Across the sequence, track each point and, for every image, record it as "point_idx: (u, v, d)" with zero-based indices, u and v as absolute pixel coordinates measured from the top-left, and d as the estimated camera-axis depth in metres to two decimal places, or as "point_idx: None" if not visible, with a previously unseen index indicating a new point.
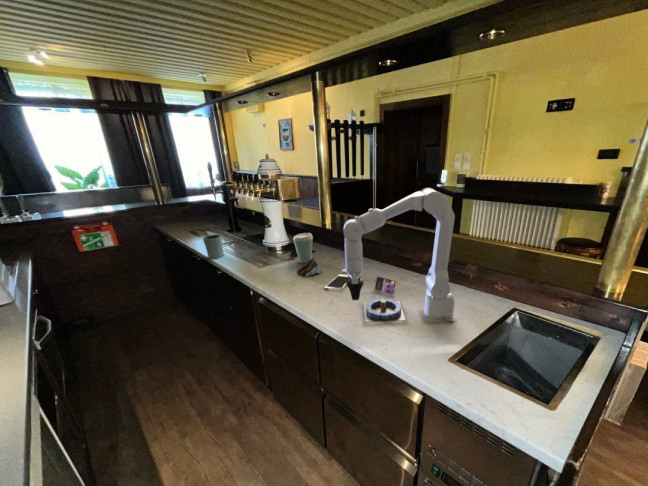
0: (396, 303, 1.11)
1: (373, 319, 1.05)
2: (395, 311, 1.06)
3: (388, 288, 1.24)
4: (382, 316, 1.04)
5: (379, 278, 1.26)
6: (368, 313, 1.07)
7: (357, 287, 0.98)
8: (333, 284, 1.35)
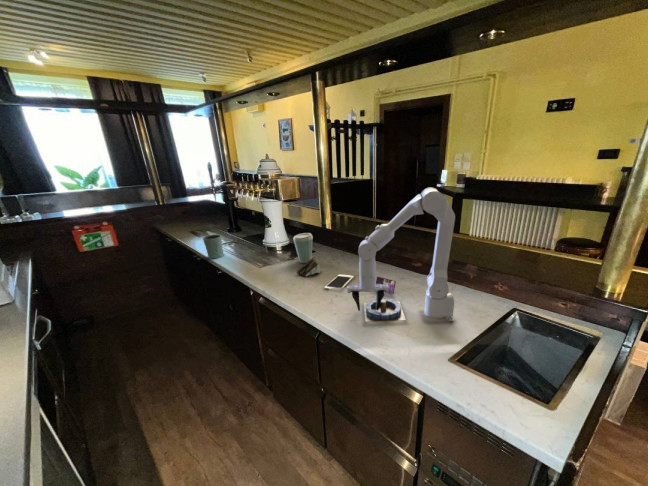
0: (396, 303, 1.11)
1: (373, 319, 1.05)
2: (395, 311, 1.06)
3: None
4: (382, 316, 1.04)
5: (379, 278, 1.26)
6: (368, 313, 1.07)
7: None
8: (333, 284, 1.35)
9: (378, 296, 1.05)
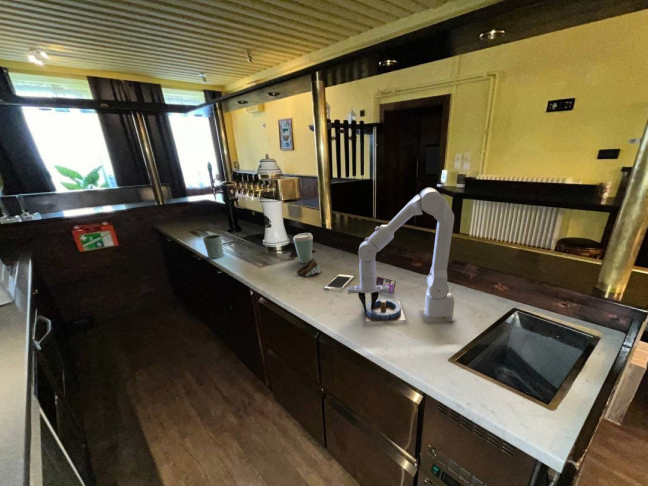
0: (396, 303, 1.11)
1: (373, 319, 1.05)
2: (395, 311, 1.06)
3: None
4: (382, 316, 1.04)
5: (379, 278, 1.26)
6: (368, 313, 1.07)
7: None
8: (333, 284, 1.35)
9: (372, 297, 1.05)
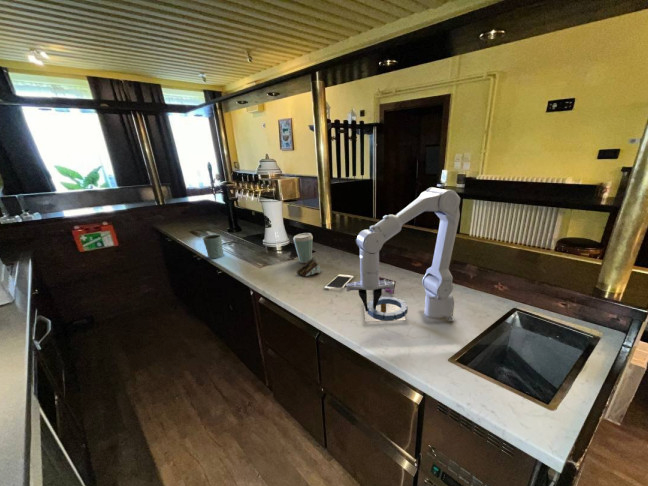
0: (401, 302, 0.97)
1: (373, 319, 1.05)
2: (401, 311, 0.92)
3: None
4: (386, 316, 0.90)
5: (379, 278, 1.26)
6: (370, 313, 0.94)
7: None
8: (333, 284, 1.35)
9: (375, 295, 0.91)
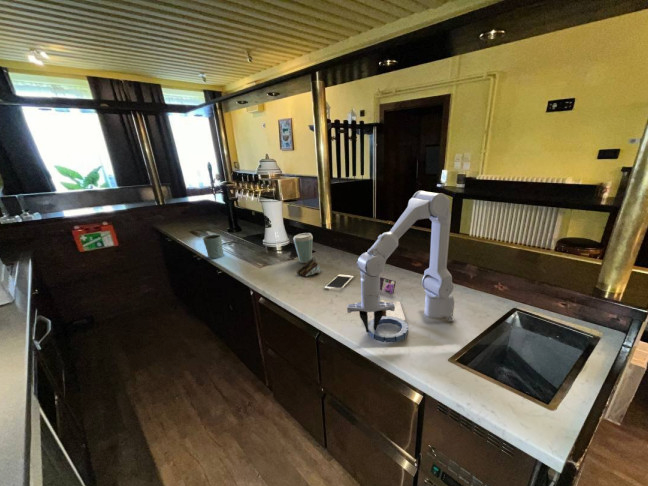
0: (402, 322, 0.98)
1: None
2: (402, 332, 0.92)
3: (388, 288, 1.24)
4: (387, 338, 0.90)
5: None
6: (370, 334, 0.94)
7: None
8: (333, 284, 1.35)
9: (376, 317, 0.91)
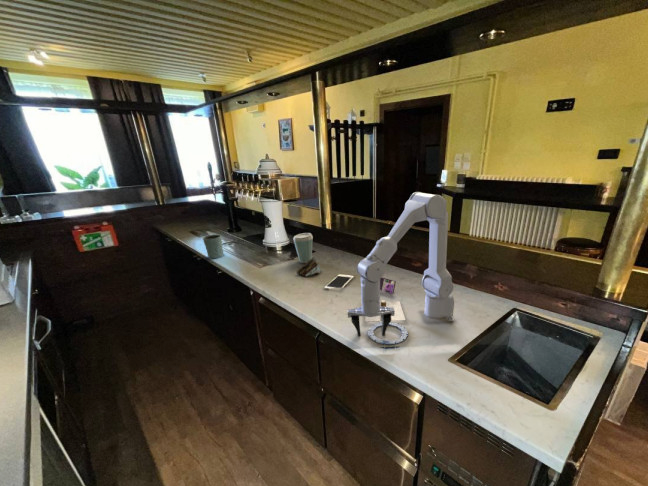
0: (402, 328, 0.99)
1: (373, 319, 1.05)
2: (402, 339, 0.93)
3: (388, 288, 1.24)
4: None
5: None
6: None
7: None
8: (333, 284, 1.35)
9: (384, 321, 0.92)
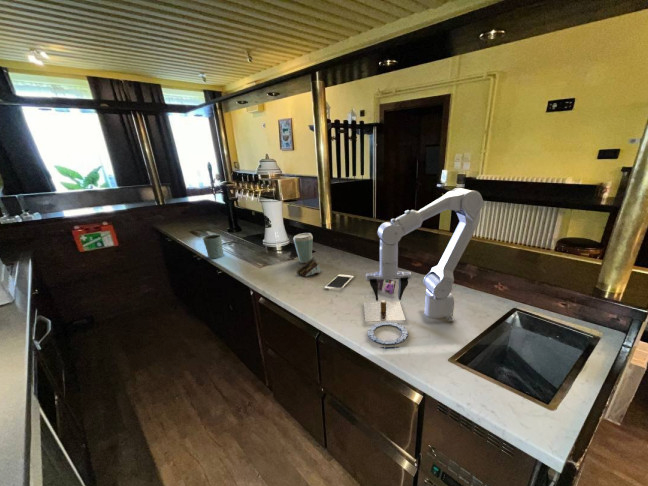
0: (402, 328, 0.99)
1: (373, 319, 1.05)
2: (402, 339, 0.93)
3: (388, 288, 1.24)
4: None
5: None
6: None
7: None
8: (333, 284, 1.35)
9: (402, 284, 0.96)
